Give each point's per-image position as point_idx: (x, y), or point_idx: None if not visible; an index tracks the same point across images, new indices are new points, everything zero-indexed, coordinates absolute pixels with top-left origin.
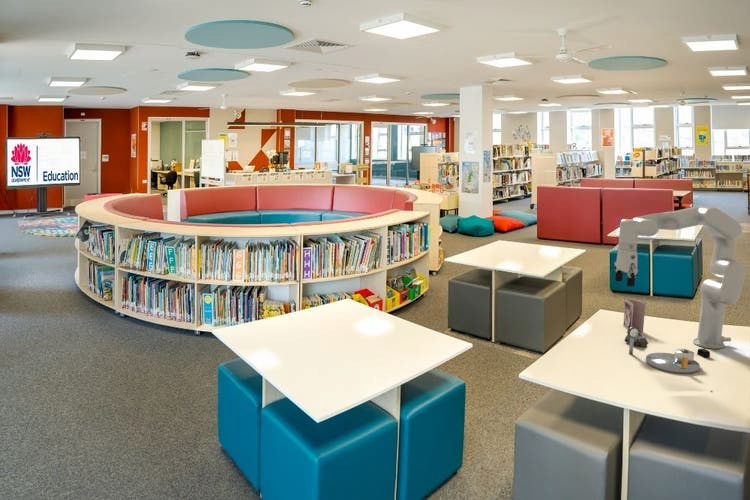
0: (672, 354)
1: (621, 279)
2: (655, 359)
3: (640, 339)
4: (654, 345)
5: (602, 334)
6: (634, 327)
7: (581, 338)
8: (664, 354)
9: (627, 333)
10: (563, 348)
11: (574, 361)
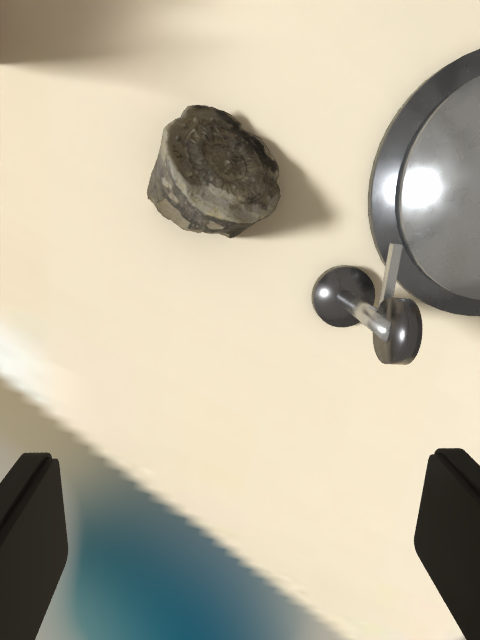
0: (443, 123)
1: (46, 490)
2: (472, 257)
3: (257, 184)
4: (218, 66)
5: (23, 255)
6: (418, 341)
7: (85, 387)
8: (432, 168)
9: (380, 357)
10: (205, 507)
11: (339, 521)
